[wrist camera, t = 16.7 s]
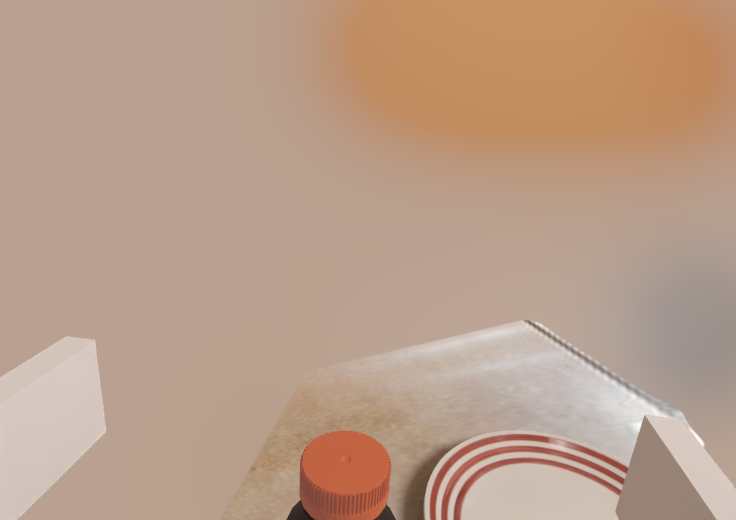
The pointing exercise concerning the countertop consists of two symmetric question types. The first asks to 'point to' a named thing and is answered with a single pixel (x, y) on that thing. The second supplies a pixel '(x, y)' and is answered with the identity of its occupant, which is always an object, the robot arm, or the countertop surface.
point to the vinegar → (343, 479)
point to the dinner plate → (525, 479)
